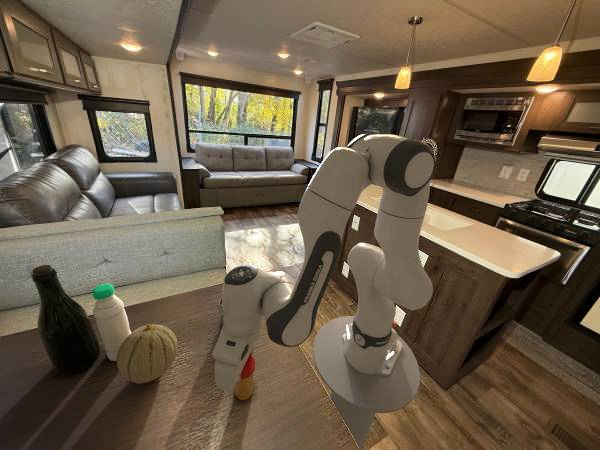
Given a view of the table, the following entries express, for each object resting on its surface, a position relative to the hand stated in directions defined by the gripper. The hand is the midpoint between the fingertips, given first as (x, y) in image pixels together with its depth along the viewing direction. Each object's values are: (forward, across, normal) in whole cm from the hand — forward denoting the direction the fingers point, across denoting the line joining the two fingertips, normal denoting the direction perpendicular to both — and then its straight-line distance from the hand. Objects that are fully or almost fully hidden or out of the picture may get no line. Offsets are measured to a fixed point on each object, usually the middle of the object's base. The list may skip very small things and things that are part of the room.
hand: (243, 366), depth 65 cm
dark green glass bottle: (+10, +6, -51) cm, 52 cm away
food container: (+10, -20, -15) cm, 27 cm away
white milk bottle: (+10, 0, -42) cm, 43 cm away
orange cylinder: (+10, 0, 0) cm, 10 cm away
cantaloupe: (+10, +2, -28) cm, 30 cm away
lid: (-1, 0, 0) cm, 1 cm away
